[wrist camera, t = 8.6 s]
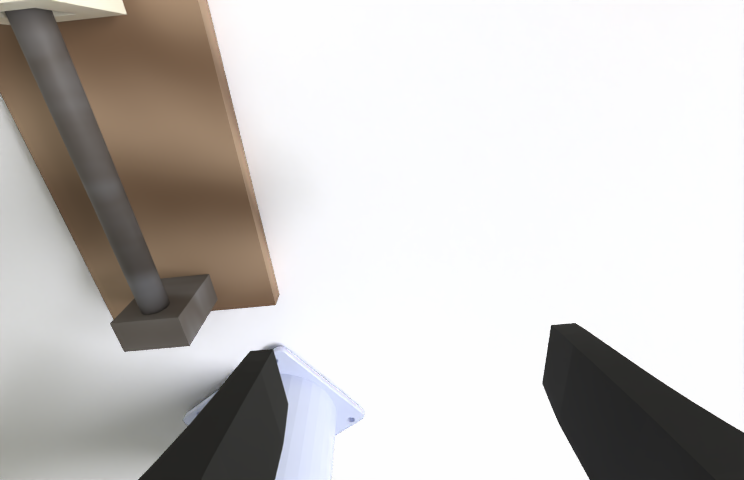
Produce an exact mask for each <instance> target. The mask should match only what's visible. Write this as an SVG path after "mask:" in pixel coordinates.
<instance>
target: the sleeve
mask: <svg viewBox="0 0 744 480" xmlns="http://www.w3.org/2000/svg"><path fill="white" fill-rule="evenodd" d="M29 8H40V9H46V10H52V12H53V15H54V17H55V20H56V22H63V21H72V20H81V19H90V18H99V17H109V16H118V15H127V13H126V10H125V7H124V4H123V1H122V0H0V24H5V25H10V23H9V20H8V18H7V16H6V14H5V12H4V11H11V10H20V9H29Z"/></svg>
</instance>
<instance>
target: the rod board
mask: <svg viewBox="0 0 744 480" xmlns="http://www.w3.org/2000/svg"><path fill="white" fill-rule="evenodd" d="M122 1H123V4H124V7H125V10H126V13H127V15H118V16H109V17H99V18H90V19H81V20H72V21H63V22H56V20H55V17H54V15H53V12H52V10H46V9H40V8H29V9H20V10H11V11H4V12H5V14H6V16H7V18H8V20H9V23H10V25H5V24H0V93H1V95H2V97H3V99H4V101H5V103H6V105H7V107H8V109H9V111H10V113H11V115H12V117H13V119H14V121H15V123H16V125H17V127H18V129H19V131H20V133H21V135H22V137H23V139H24V141H25V143H26V145H27V147H28V149H29V151H30V153H31V155H32V157H33V159H34V161H35V163H36V165H37V167H38V169H39V171H40V173H41V175H42V177H43V179H44V181H45V183H46V185H47V187H48V189H49V191H50V193H51V195H52V197H53V199H54V201H55V203H56V205H57V207H58V209H59V211H60V213H61V215H62V217H63V219H64V221H65V223H66V225H67V227H68V229H69V231H70V233H71V235H72V237H73V239H74V241H75V243H76V245H77V247H78V249H79V251H80V253H81V255H82V257H83V259H84V261H85V263H86V265H87V267H88V269H89V271H90V273H91V275H92V277H93V279H94V281H95V283H96V285H97V287H98V289H99V291H100V293H101V295H102V297H103V299H104V301H105V303H106V305H107V307H108V309H109V311H110V313H111V315H112V317H113V319H114V320H113V321H112V322H111V323H110V324H111V326H112V328H113V330H114V332H115V334H116V336H117V338H118V340H119V342H120V344H121V346H122V348H123V350H124V352H127V351H138V350H149V349H160V348H171V347H183V346H190V344H191V343H192V341H193V339H194V338H195V336H196V334H197V333H198V331H199V329H200V328H201V326H202V325H203V323H204V321H205V320H206V318H207V316H208V315H209V313H210V311H215V310H226V309H237V308H248V307H259V306H270V305H276V302H277V300H278V297H279V291H278V287H277V283H276V279H275V275H274V271H273V267H272V263H271V259H270V255H269V250H268V246H267V242H266V238H265V234H264V230H263V226H262V222H261V218H260V214H259V210H258V206H257V202H256V198H255V193H254V189H253V185H252V181H251V177H250V173H249V169H248V165H247V161H246V157H245V153H244V149H243V145H242V141H241V136H240V132H239V128H238V124H237V120H236V116H235V112H234V108H233V104H232V100H231V96H230V92H229V88H228V83H227V79H226V75H225V71H224V67H223V63H222V59H221V55H220V51H219V47H218V43H217V39H216V35H215V31H214V26H213V22H212V18H211V14H210V10H209V6H208V2H207V0H122Z"/></svg>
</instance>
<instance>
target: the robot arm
mask: <svg viewBox="0 0 744 480" xmlns="http://www.w3.org/2000/svg"><path fill="white" fill-rule="evenodd" d="M276 358H277V359H276ZM543 386H544V388H545V391H546V393H547V396H548V399H549V401H550V404H551V406H552V408H553V411H554V413H555V415H556V418H557V420H558V422H559V424H560V426H561V428H562V430H563V432H564V434H565V435H566V437H567V439H568V441H569V443H570V445H571V446H572V448H573V450H574V452H575V454H576V456H577V457H578V459H579V461H580V463H581V465H582V466H583V468H584V470H585V472H586V474H587V475H588V477H589V479H590V480H744V433H743V432H742V431H740V430H738V429H736V428H735V427H733V426H731V425H730V424H728V423H726V422H725V421H723V420H721V419H720V418H718V417H716V416H715V415H713V414H712V413H710V412H708V411H707V410H705V409H703V408H702V407H700V406H699V405H697V404H695V403H694V402H692V401H690V400H689V399H687V398H686V397H684V396H683V395H681V394H680V393H678V392H676V391H675V390H673V389H672V388H670V387H669V386H667V385H666V384H664V383H663V382H661V381H660V380H658V379H657V378H655V377H654V376H652V375H651V374H649V373H648V372H646V371H645V370H643V369H642V368H640V367H639V366H637V365H636V364H634V363H633V362H631V361H630V360H629V359H627V358H626V357H624V356H623V355H621V354H620V353H618V352H617V351H616V350H614V349H613V348H611V347H610V346H608V345H607V344H605V343H604V342H603V341H601V340H600V339H598V338H597V337H595V336H594V335H592V334H591V333H590V332H588V331H587V330H585V329H584V328H582V327H580V326H579V325H577V324H576V323H572V324H560V325H551V330H550V337H549V343H548V350H547V357H546V363H545V370H544V376H543ZM363 417H364V410H363V409H362V408H361V407H360V406H358V405H357V404H356V403H355V402H353V401H352V400H351V399H350V398H348V397H347V396H346V395H345V394H343V393H342V392H341V391H340V390H338V389H337V388H336V387H334V386H333V385H332V384H331V383H329V382H328V381H327V380H326V379H324V378H323V377H322V376H321V375H319V374H318V373H317V372H316V371H314V370H313V369H312V368H311V367H309V366H308V365H307V364H305V363H304V362H303V361H302V360H300V359H299V358H298V357H297V356H295V355H294V354H293V353H292V352H290V351H289V350H288V349H287V348H285V347H281V346H279V347H276V348H274V349H271V350H259V351H250V352H249V353H248V355H247V356H246V357H245V358H244V359H243V360H242V362H241V363H240V364H239V365H238V367H237V368H236V369H235V370H234V371H233V373H232V374H231V375H230V376H229V378H228V379H227V380H226V381H225V383H224V384H223V385H222V386H221V387H220V389H219V390H217V391H216V392H215V393H213V394H212V395H210V396H209V397H208V398H206V399H205V400H204V401H202V402H201V403H200V404H198V405H197V406H196V407H194V408H193V409H192V410H190V411H189V412H187V413H186V415H185V417H184V419H183V421H184V423H185V424H187V425H188V427H187V428H186V429H185V430H184V431H183V432H182V433H181V434H180V436H179V437H178V438H177V439H176V440H175V441H174V442H173V443H172V444H171V445H170V447H169V448H168V449H167V450H166V451H165V452H164V453H163V454H162V455H161V456H160V457H159V459H158V460H157V461H156V462H155V463H154V464H153V465H152V466H151V467H150V468H149V469H148V470H147V471H146V472H145V473H144V474H143V475H142V476H141V477H140V478H139V479H138V480H331V479H332V466H333V453H334V439H335V435H337V434H339V433H340V432H342V431H344V430H345V429H347V428H348V427H350V426H352V425H353V424H355V423H357V422H358V421H360V420H362V419H363Z"/></svg>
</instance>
